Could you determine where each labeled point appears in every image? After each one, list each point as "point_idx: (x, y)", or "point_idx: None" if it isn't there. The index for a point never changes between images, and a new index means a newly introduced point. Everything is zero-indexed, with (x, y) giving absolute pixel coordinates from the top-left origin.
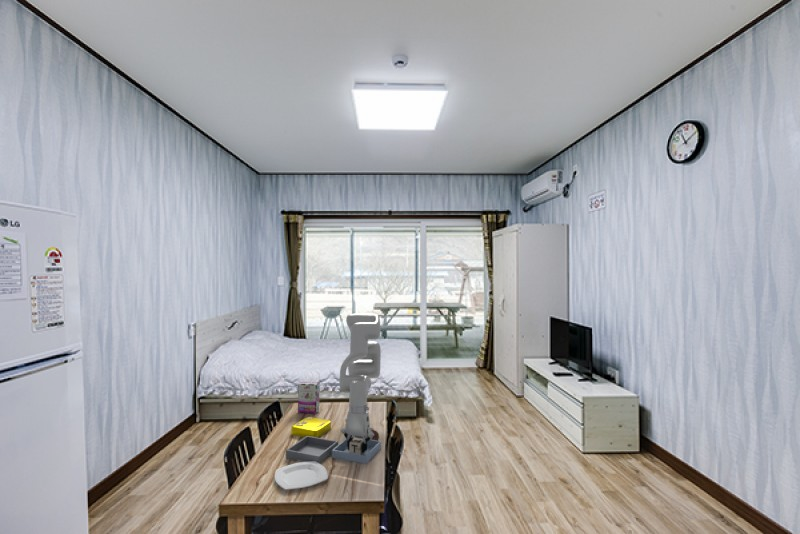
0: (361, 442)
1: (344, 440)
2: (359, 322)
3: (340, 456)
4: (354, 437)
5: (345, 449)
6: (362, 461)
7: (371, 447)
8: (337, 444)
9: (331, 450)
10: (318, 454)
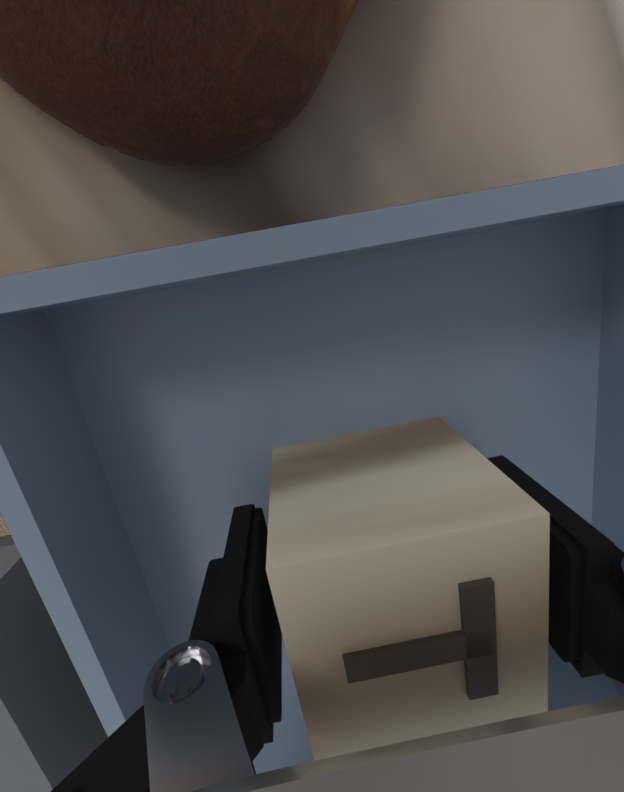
0: (540, 652)
1: (31, 541)
2: None
3: (293, 739)
4: (81, 298)
5: (165, 516)
6: (570, 670)
7: (474, 249)
8: (2, 591)
9: (83, 715)
10: (1, 761)
